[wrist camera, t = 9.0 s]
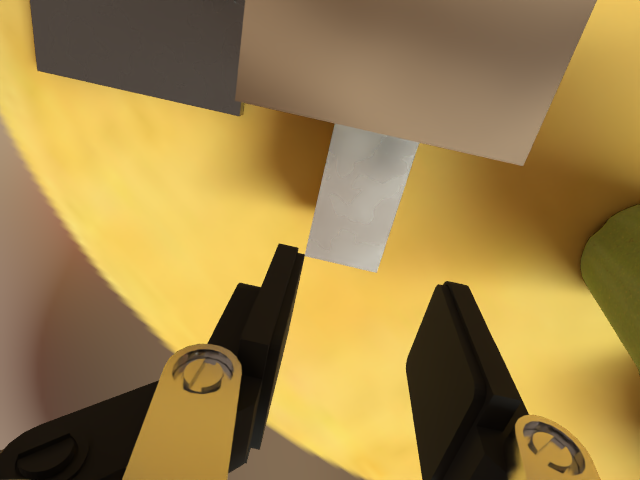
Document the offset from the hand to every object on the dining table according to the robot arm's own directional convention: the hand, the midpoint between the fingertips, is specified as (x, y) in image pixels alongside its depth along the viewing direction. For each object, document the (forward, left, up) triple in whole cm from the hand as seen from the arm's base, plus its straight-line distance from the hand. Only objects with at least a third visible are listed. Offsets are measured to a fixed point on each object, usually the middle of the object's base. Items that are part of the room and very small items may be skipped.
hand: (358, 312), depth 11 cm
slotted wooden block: (-9, 0, -15) cm, 17 cm away
